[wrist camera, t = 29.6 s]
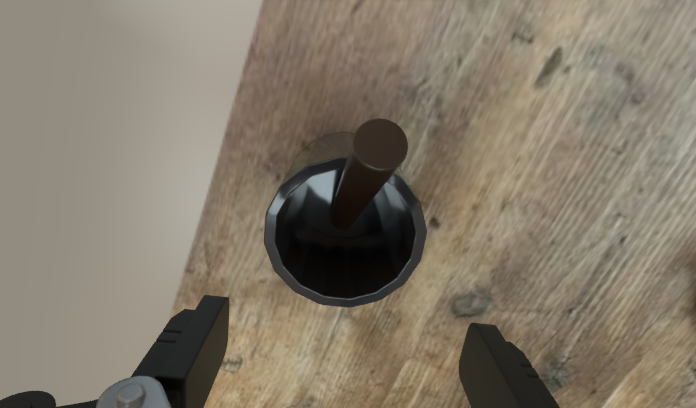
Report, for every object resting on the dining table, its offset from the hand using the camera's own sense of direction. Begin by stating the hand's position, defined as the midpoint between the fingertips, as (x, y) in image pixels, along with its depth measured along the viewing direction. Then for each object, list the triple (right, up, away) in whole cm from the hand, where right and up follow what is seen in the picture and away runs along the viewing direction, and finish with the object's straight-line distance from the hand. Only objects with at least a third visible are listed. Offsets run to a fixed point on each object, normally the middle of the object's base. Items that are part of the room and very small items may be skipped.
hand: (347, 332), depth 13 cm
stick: (0, +3, +15) cm, 16 cm away
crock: (0, +5, +16) cm, 17 cm away
